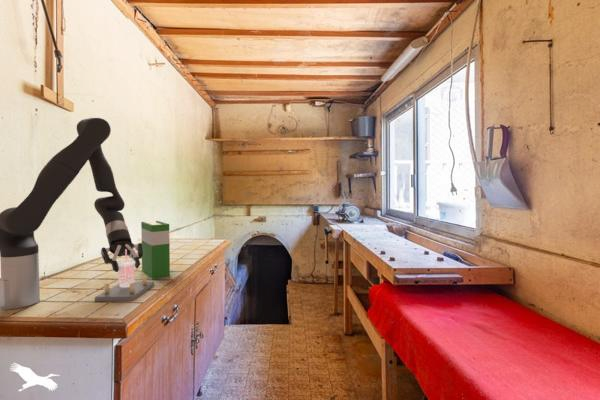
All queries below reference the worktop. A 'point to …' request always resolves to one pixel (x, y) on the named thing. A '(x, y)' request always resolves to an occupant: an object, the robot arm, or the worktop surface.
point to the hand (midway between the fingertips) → (127, 268)
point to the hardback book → (155, 249)
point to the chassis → (125, 291)
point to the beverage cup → (126, 272)
